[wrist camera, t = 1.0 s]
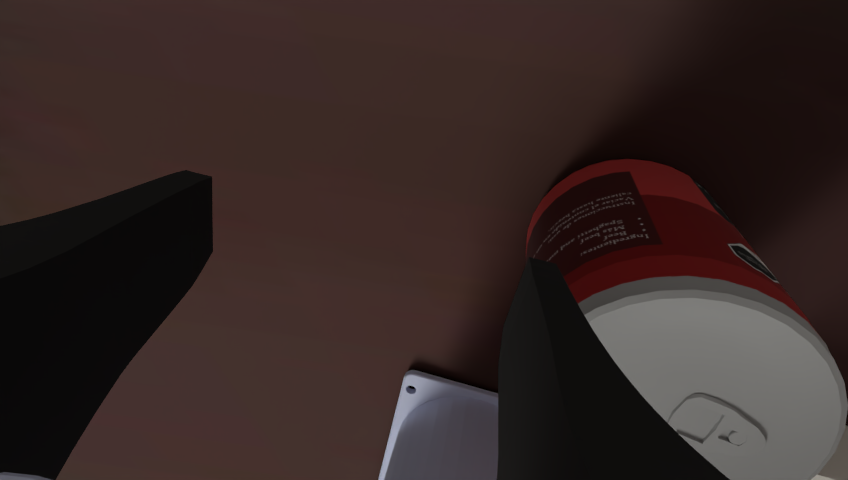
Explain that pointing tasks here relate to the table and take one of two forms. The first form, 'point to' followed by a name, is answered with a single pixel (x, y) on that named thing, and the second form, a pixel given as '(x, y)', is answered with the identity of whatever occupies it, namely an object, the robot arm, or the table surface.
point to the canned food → (694, 318)
